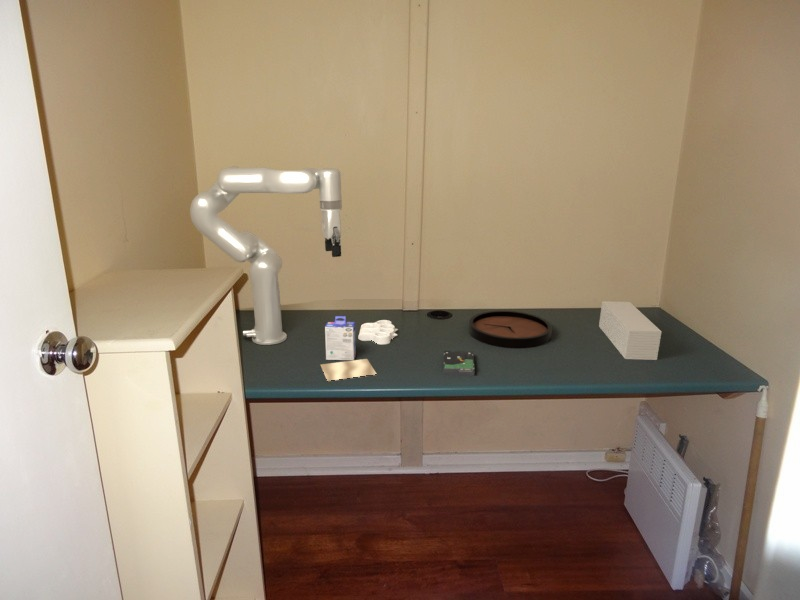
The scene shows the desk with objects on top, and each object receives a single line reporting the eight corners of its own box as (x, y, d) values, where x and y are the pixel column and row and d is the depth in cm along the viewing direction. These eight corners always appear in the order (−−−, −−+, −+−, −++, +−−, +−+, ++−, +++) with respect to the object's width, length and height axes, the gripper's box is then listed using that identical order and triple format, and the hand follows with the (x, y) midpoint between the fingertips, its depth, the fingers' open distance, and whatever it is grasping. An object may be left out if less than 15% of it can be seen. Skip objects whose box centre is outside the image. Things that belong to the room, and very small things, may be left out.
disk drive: (442, 357, 189) (442, 375, 175) (443, 350, 188) (443, 367, 174) (472, 358, 188) (475, 377, 174) (473, 351, 187) (475, 369, 173)
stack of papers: (598, 326, 218) (602, 301, 214) (626, 327, 217) (629, 301, 214) (625, 359, 187) (629, 330, 184) (656, 360, 187) (661, 331, 183)
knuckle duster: (362, 327, 216) (398, 328, 215) (357, 345, 198) (397, 345, 198) (361, 319, 215) (398, 320, 214) (357, 336, 197) (397, 337, 197)
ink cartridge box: (356, 354, 190) (355, 315, 185) (354, 360, 184) (353, 320, 180) (328, 353, 190) (326, 314, 185) (325, 360, 184) (324, 320, 180)
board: (327, 381, 169) (327, 380, 169) (320, 365, 181) (320, 364, 180) (376, 374, 174) (376, 374, 174) (367, 359, 185) (367, 358, 185)
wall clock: (568, 325, 208) (518, 345, 188) (567, 335, 209) (517, 356, 189) (503, 305, 230) (452, 322, 210) (502, 314, 231) (451, 331, 212)
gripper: (314, 202, 194) (317, 249, 200) (326, 209, 179) (328, 260, 184) (335, 201, 197) (337, 247, 202) (348, 208, 181) (350, 258, 187)
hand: (333, 253), depth 193 cm, fingers open, 9 cm apart
